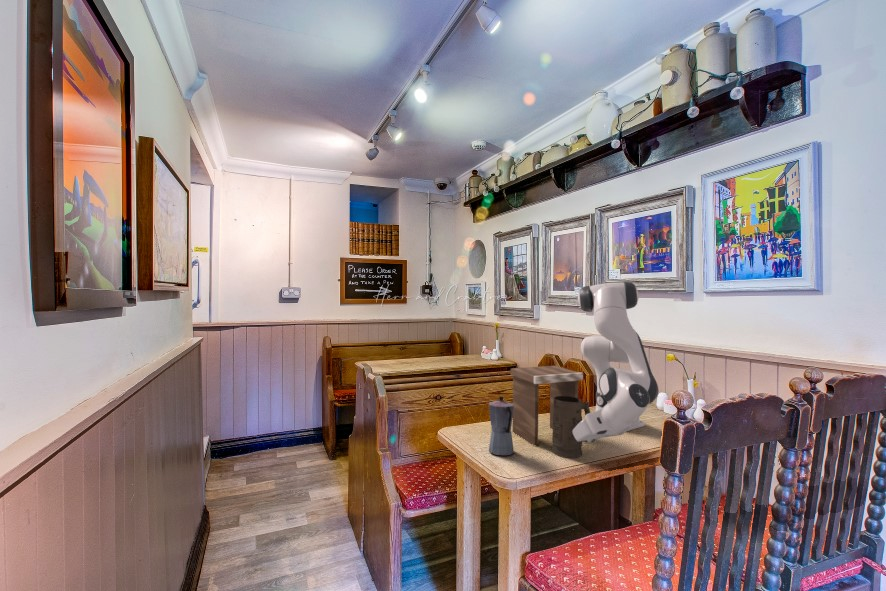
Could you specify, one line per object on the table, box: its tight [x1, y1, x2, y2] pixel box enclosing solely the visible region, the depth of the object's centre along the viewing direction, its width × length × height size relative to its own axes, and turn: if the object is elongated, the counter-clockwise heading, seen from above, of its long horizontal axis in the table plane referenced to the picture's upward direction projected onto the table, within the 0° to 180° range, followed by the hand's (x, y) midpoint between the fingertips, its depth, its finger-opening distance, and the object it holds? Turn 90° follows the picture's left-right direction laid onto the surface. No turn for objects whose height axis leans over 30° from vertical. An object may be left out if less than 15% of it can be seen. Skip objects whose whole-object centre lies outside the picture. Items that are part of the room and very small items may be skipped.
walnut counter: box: [510, 365, 584, 446], centre depth 168 cm, size 22×18×27 cm
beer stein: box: [551, 396, 591, 459], centre depth 152 cm, size 15×11×20 cm
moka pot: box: [488, 396, 515, 456], centre depth 150 cm, size 10×15×20 cm, turn 19°
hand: (590, 440), depth 144 cm, fingers closed
